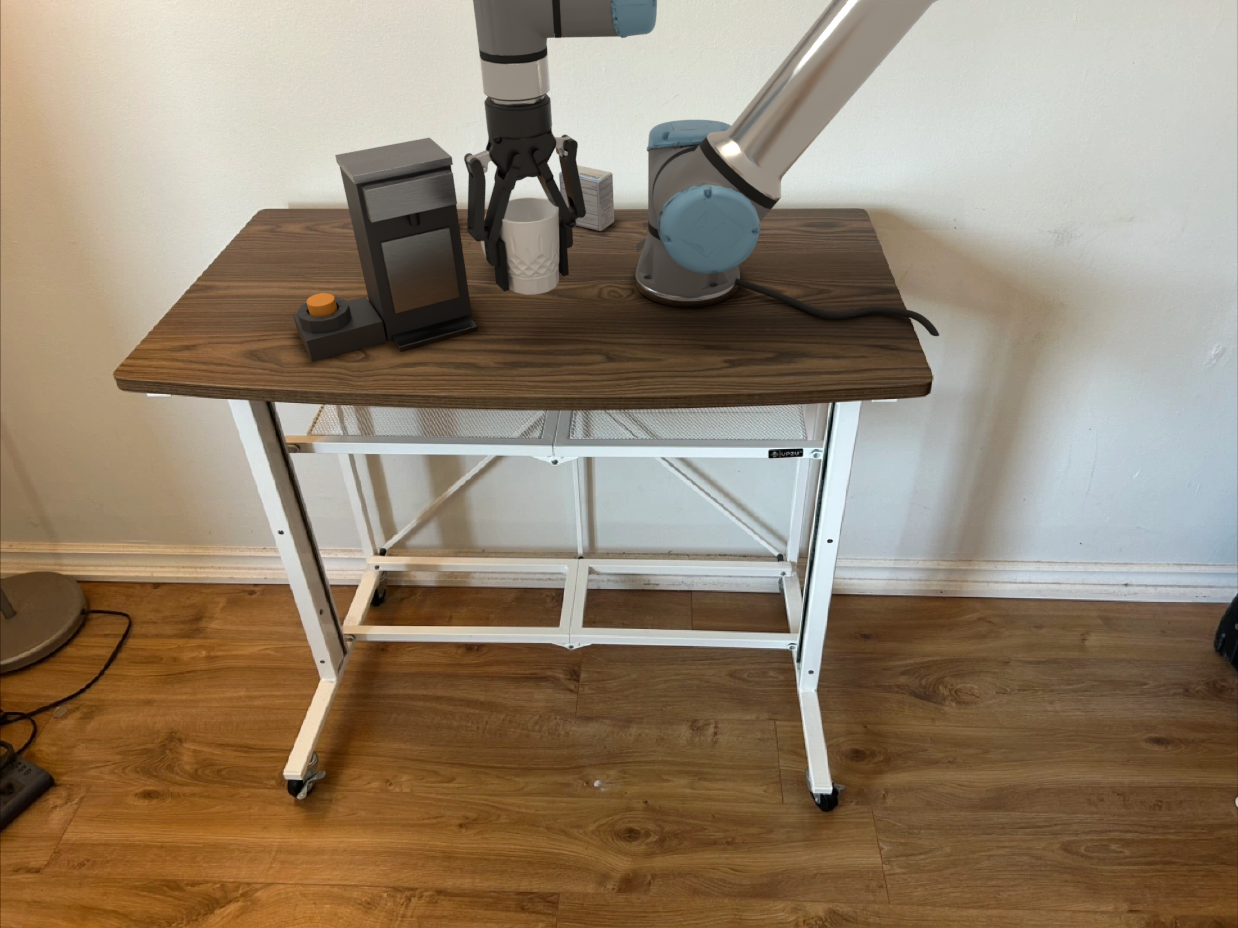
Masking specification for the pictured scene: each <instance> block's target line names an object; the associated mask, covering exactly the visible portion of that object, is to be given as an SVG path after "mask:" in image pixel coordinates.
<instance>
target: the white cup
mask: <svg viewBox="0 0 1238 928" xmlns="http://www.w3.org/2000/svg"><path fill="white" fill-rule="evenodd" d="M502 222H503V224H502V227H501V231H500V234H499V238H500V239H502V240H503V241H504V242H505V251H506V261H507V271H508V281H509V291H512V292H514V293H516V294H520V295H524V296H533V295H536V296H537V295H541V294H545V293H548V292H551V291H552V290H554V289H555V288H557V286H558V284H559V282H560V273H559V266H558V264H559V207H555V206H554V205H553V204H552V203H551V202H550V201H549V200H548V198H544V197H538V196H537V197H536V196H524V197H516V198H512V199H509V202H508V205H507V209H506V213H505V216H504V219H502Z"/></svg>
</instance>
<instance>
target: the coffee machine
mask: <svg viewBox="0 0 1238 928" xmlns="http://www.w3.org/2000/svg"><path fill="white" fill-rule="evenodd" d="M334 157H335V161H336V164H337V165H338V166H339V170H340V175H341V180H342V184H343V190H344V192H345V197H346V202H347V207H348V211H349V216H350V220H351V221H350V222H351V225H352V230H353V234H354V239H355V244H356V249H357V253H358V258H359V262H360V266H361V272H362V276H363V280H364V284H365V290H366V294H367V299H368V301H369V302H370V304H371V305H372V307H373V308H374V310H375V311H376V313H377V314H378V316H379V317H380V319H381V320H382V322H383V327H384V332H385V336H386V340H387V342H393V344H394V345H395V346H396V347H397V349H398V350H399V352H400V353H402V352H405V351H408V350H413V349H417V348H420V347H423V346H427V345H430V344H434V343H435V344H436V343H439V342H442V341H445V340H449V339H452V338H457V337H460V336H464V335H467V334H470V333H471V334H472V333H475V332H478V330H479V329H478V325H477V324H476V322H475V321H474V320H473V314H472V306H471V300H470V292H469V286H468V279H467V271H466V263H465V258H464V249H463V242H462V234H461V229H460V228H461V227H460V221H459V213H458V200H457V192H456V184H455V178H454V173H453V171H452V170H453V169H452V166H453V165H454V163H453V157H452V156H451V155H450V154H449V153H448V152H447V151H445V149H443V148H442V147H441V146H440V145H439V144H438V143H437V142H436V141H434V140H433V139H432V138H431V137H424V138H420V139H413V140H409V141H408V140H407V141H403V142H399V143H398V142H397V143H393V144H387V145H381V146H376V147H371V148H366V149H361V150H354V151H349V152H345V153H339V154H335V155H334Z"/></svg>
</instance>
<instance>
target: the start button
mask: <svg viewBox="0 0 1238 928" xmlns="http://www.w3.org/2000/svg"><path fill="white" fill-rule="evenodd" d="M335 297H336V296H335V295H334V294H332V293H328V292H320V293H316V294H313V295H311V296H309V297H308V298H307V300H306V302H307V306H308V310H309V313H310V315H312V316H327V315H331V314H332V313H334V312H336V311H337V305H336V300H335Z"/></svg>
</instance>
